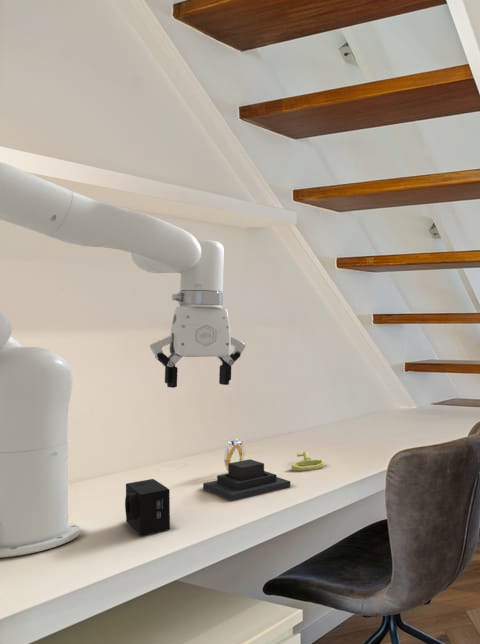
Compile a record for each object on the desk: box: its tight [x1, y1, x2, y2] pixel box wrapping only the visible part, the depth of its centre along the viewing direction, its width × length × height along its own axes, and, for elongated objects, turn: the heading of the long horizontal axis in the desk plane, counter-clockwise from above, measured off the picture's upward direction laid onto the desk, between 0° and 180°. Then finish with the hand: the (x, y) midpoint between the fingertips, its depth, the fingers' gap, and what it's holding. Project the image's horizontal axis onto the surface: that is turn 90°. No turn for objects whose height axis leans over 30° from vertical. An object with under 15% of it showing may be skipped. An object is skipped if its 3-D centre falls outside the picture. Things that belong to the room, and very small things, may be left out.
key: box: [291, 450, 325, 472], centre depth 144 cm, size 7×12×2 cm, turn 43°
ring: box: [223, 438, 246, 473], centre depth 138 cm, size 7×3×8 cm, turn 173°
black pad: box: [227, 459, 265, 481], centre depth 125 cm, size 5×6×4 cm
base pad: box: [202, 470, 291, 502], centre depth 125 cm, size 12×14×3 cm
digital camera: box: [124, 478, 171, 537], centre depth 102 cm, size 10×5×7 cm, turn 46°
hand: (198, 385), depth 118 cm, fingers open, 9 cm apart
